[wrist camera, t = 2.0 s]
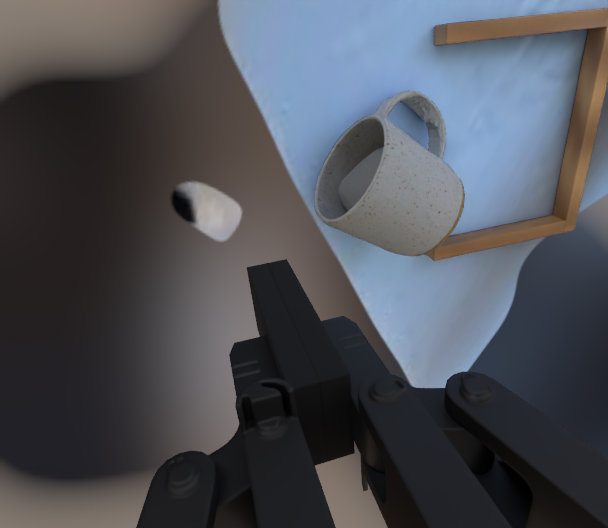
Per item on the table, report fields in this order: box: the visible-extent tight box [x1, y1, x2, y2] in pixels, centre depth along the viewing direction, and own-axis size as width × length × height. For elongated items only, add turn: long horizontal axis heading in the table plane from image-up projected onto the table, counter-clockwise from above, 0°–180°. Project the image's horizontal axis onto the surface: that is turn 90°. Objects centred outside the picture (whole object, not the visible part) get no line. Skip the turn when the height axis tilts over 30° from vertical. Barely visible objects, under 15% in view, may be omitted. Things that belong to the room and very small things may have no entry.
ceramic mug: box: [314, 90, 465, 256], centre depth 28 cm, size 11×8×8 cm
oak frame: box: [426, 8, 608, 261], centre depth 33 cm, size 17×14×2 cm
